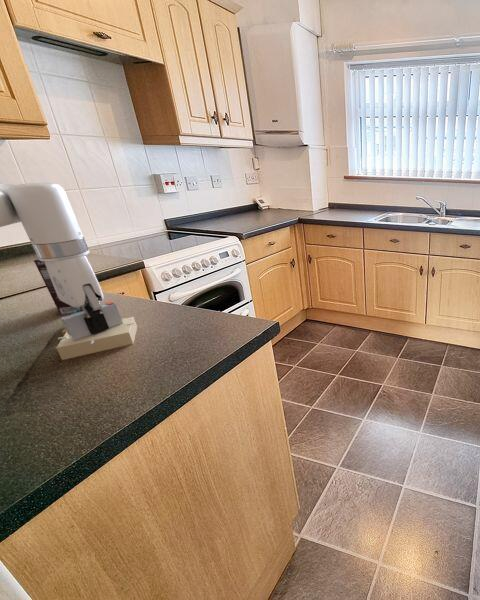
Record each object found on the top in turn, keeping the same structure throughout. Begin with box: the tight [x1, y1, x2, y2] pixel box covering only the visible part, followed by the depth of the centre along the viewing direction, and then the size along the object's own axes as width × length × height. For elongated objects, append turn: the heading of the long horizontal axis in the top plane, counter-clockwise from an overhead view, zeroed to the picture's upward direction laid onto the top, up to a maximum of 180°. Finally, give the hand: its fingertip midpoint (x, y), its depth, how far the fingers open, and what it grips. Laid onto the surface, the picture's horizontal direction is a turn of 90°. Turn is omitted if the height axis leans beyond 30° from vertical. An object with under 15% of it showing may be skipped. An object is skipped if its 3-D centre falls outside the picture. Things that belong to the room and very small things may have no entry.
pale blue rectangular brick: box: [60, 301, 123, 341], centre depth 73 cm, size 9×2×5 cm, turn 150°
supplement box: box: [33, 257, 87, 316], centre depth 88 cm, size 9×5×16 cm, turn 27°
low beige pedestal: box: [55, 316, 138, 361], centre depth 75 cm, size 13×13×3 cm
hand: (97, 329), depth 74 cm, fingers closed on pale blue rectangular brick, 2 cm apart
